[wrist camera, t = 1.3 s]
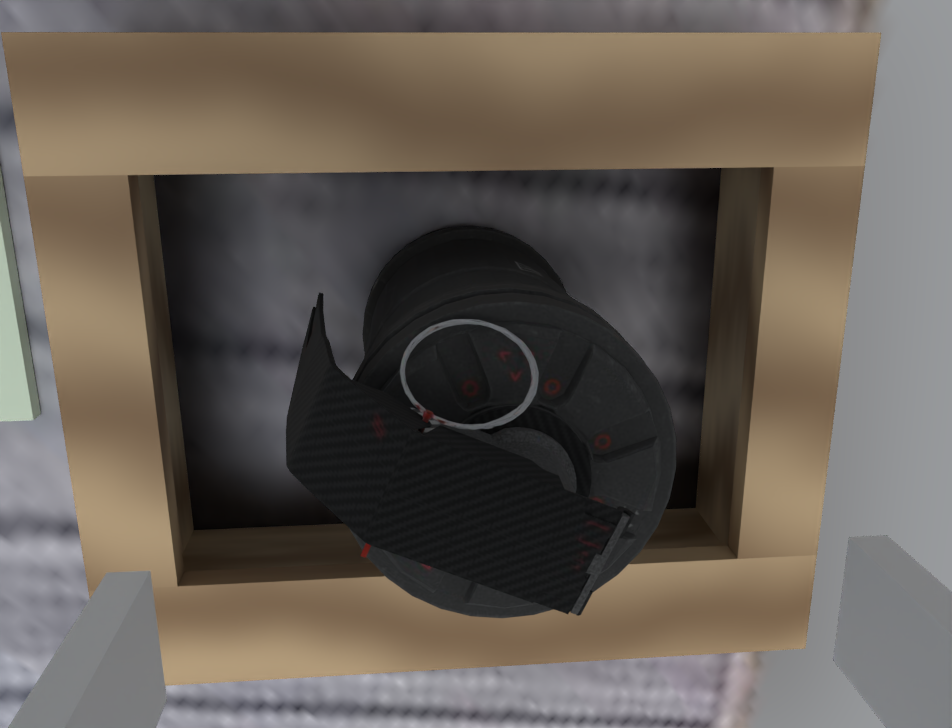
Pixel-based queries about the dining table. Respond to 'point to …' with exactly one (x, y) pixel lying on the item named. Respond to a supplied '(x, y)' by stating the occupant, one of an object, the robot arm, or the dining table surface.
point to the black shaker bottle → (484, 432)
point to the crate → (447, 149)
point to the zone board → (13, 334)
